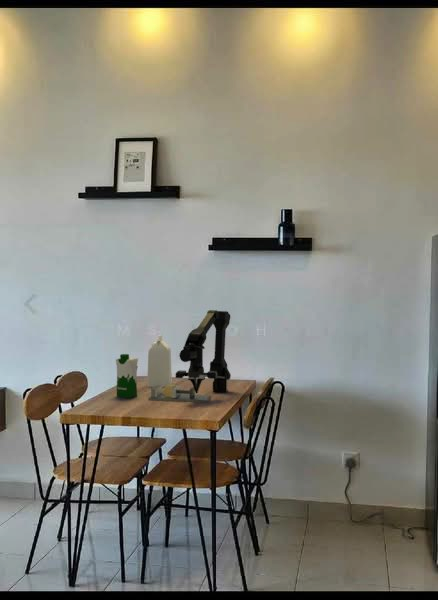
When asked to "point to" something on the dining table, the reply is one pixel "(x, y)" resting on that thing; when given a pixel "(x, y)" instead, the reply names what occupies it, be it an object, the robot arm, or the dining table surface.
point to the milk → (159, 364)
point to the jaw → (182, 391)
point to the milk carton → (126, 376)
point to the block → (169, 390)
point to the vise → (158, 395)
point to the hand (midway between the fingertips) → (196, 393)
